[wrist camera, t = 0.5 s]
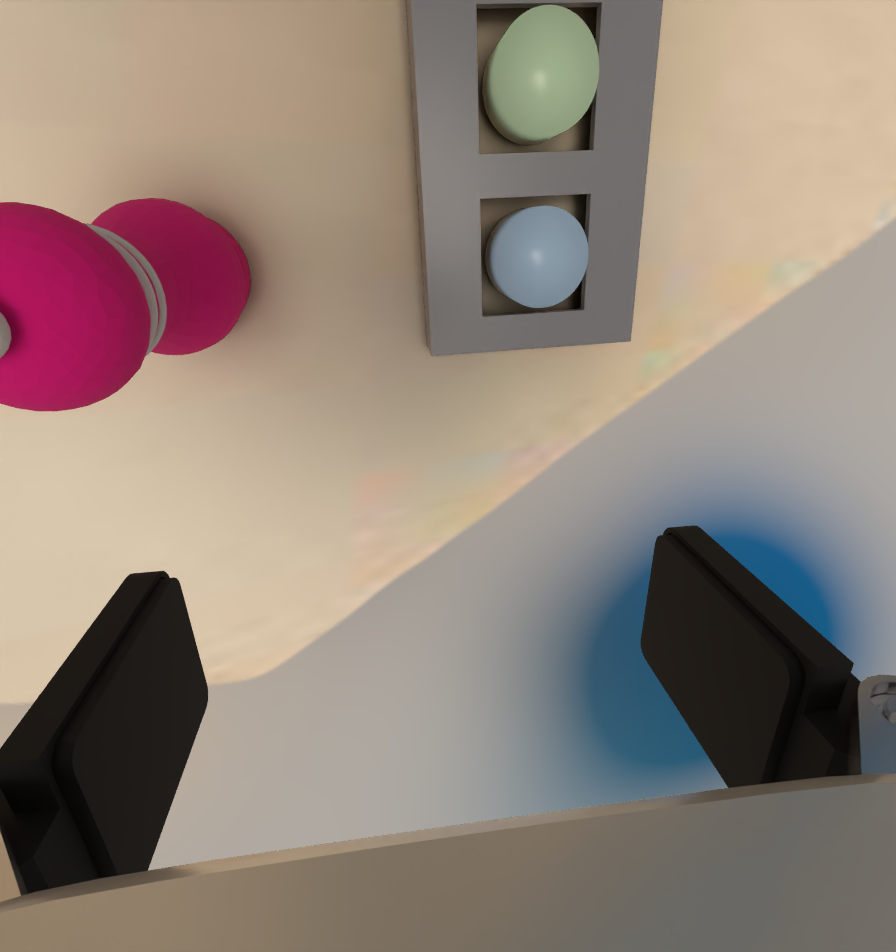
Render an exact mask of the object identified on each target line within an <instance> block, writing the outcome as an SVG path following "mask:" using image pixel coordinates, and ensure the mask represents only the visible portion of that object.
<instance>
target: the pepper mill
mask: <svg viewBox="0 0 896 952" xmlns="http://www.w3.org/2000/svg"><path fill="white" fill-rule="evenodd" d="M250 283H251V280H250V271H249V267H248V263H247V260H246V257H245V255H244V253H243V251H242V249H241V247H240V246H239V244H238V243H237V242H236V240H235V239H234V238H233V237H232V236H231V235H230V234H229V232H228V231H227V230H225V229H224V228H223V227H222V226H220V225H219V224H217V223H216V222H214V221H212V220H210V219H208V218H206V217H205V216H204V215H202V214H201V213H199V212H197V211H195V210H194V209H192V208H190V207H188V206H185V205H183V204H180V203H178V202H174V201H170V200H166V199H156V198H148V199H138V200H130V201H126V202H123V203H119V204H116V205H115V206H113V207H111V208H110V209H108V210H106V211H105V212H103V213H102V214H100V215H99V216H98V217H97V218H96V219H95V220H94V221H93V222H92V223H91V224H85V223H81V222H79V221H77V220H75V219H72V218H70V217H68V216H66V215H63V214H61V213H59V212H57V211H55V210H52V209H48V208H44V207H40V206H36V205H31V204H24V203H18V202H3V203H0V404H4V405H8V406H11V407H15V408H20V409H27V410H34V411H61V410H69V409H75V408H80V407H84V406H88V405H91V404H93V403H96V402H98V401H100V400H103V399H105V398H107V397H109V396H110V395H112V394H113V393H115V392H117V391H118V390H119V389H121V388H122V387H123V386H124V385H125V384H126V383H127V382H128V381H129V380H130V379H131V378H132V377H133V376H134V374H135V373H136V372H137V371H138V370H139V369H140V367H141V365H142V362H143V360H144V357H145V356H146V355H148V354H149V353H150V352H154V353H159V354H165V355H184V354H190V353H194V352H198V351H201V350H203V349H206V348H208V347H210V346H212V345H214V344H216V343H217V342H219V341H220V340H222V339H223V338H224V337H225V336H226V335H227V334H228V333H229V332H230V331H231V330H232V329H233V327H234V326H235V324H236V323H237V321H238V319H239V316H240V314H241V312H242V310H243V308H244V306H245V304H246V302H247V299H248V296H249V292H250Z"/></svg>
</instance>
